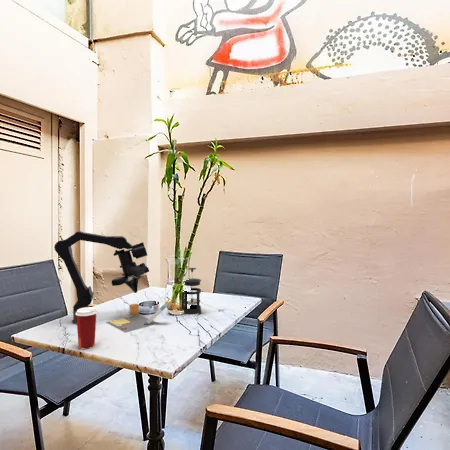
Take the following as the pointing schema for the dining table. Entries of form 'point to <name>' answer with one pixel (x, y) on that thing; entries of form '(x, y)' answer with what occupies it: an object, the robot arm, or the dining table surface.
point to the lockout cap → (134, 309)
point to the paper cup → (86, 326)
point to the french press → (193, 308)
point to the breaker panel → (131, 323)
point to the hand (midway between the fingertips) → (135, 292)
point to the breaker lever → (157, 313)
